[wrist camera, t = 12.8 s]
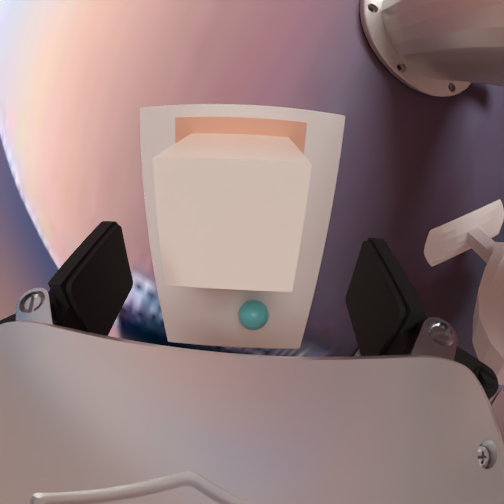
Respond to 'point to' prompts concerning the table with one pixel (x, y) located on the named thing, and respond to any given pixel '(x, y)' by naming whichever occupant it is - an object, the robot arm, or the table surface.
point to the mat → (313, 235)
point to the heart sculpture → (493, 280)
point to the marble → (253, 315)
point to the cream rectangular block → (231, 211)
